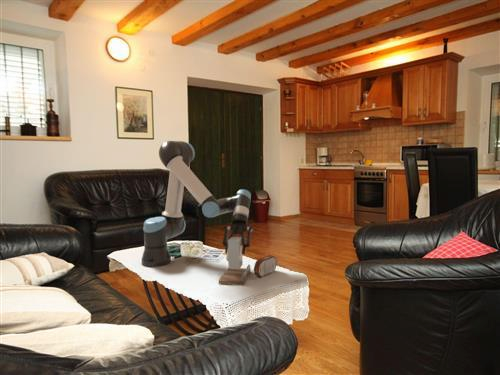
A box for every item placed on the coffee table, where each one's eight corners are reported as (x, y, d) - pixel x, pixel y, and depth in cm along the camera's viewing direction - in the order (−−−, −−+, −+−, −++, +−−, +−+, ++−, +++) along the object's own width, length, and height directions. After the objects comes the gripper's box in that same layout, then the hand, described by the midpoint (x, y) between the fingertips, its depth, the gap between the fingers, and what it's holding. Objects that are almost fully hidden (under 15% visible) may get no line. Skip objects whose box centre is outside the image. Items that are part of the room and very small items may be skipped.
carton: (228, 268, 159) (227, 240, 158) (232, 264, 166) (231, 237, 165) (239, 269, 159) (239, 240, 157) (242, 264, 165) (242, 237, 164)
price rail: (248, 268, 171) (248, 264, 171) (250, 268, 171) (250, 264, 170) (241, 281, 153) (241, 277, 153) (243, 281, 153) (243, 277, 153)
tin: (272, 269, 174) (272, 252, 173) (277, 271, 172) (277, 254, 171) (253, 278, 162) (253, 260, 161) (258, 279, 160) (258, 261, 159)
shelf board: (228, 270, 173) (228, 267, 173) (250, 271, 171) (250, 268, 171) (218, 283, 155) (218, 280, 155) (243, 285, 153) (243, 281, 153)
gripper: (259, 221, 174) (254, 264, 160) (223, 221, 178) (215, 263, 163) (257, 212, 169) (252, 256, 154) (220, 212, 172) (212, 254, 157)
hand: (233, 259), depth 158 cm, fingers closed on carton, 5 cm apart
